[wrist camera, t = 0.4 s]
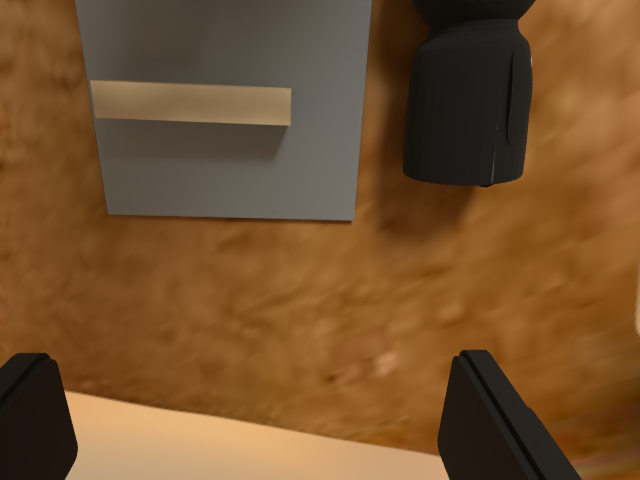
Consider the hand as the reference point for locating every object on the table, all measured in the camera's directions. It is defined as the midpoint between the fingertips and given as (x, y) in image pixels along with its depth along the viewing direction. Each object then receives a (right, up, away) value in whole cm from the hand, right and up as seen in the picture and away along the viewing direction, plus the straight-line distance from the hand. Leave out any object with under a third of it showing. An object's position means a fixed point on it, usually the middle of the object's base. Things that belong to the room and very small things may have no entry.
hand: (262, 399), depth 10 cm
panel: (-6, +14, +25) cm, 29 cm away
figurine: (+12, +20, +24) cm, 33 cm away
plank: (-8, +15, +24) cm, 30 cm away
